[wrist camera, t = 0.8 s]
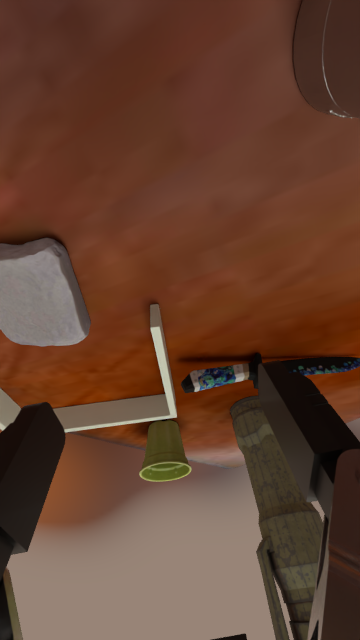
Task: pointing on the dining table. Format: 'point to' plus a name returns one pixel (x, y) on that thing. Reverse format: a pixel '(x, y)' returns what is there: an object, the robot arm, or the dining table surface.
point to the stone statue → (280, 521)
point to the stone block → (40, 295)
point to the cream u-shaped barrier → (113, 413)
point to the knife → (250, 371)
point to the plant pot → (164, 453)
